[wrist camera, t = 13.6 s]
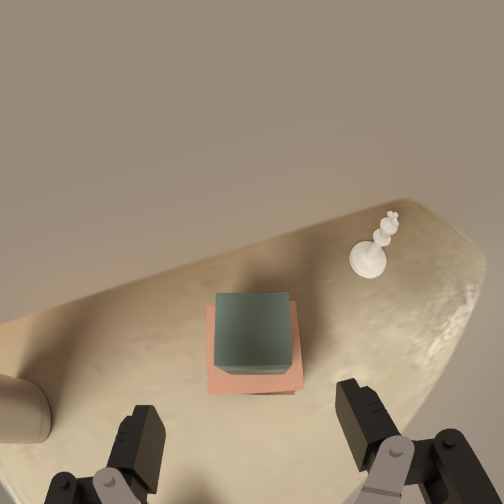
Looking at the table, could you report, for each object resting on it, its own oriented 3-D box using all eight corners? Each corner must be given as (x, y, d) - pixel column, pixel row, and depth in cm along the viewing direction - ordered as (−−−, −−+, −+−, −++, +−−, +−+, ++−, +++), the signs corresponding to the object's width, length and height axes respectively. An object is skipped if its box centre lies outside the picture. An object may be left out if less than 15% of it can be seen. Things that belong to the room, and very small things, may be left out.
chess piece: (375, 239, 36) (402, 190, 27) (391, 271, 33) (425, 229, 25) (342, 248, 35) (364, 199, 27) (358, 283, 33) (387, 241, 24)
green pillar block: (230, 374, 23) (213, 365, 16) (231, 324, 25) (216, 293, 18) (284, 374, 23) (292, 364, 16) (282, 323, 25) (289, 291, 18)
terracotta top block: (215, 394, 25) (208, 394, 22) (213, 316, 29) (206, 305, 26) (299, 389, 25) (304, 389, 22) (292, 311, 29) (295, 300, 26)
